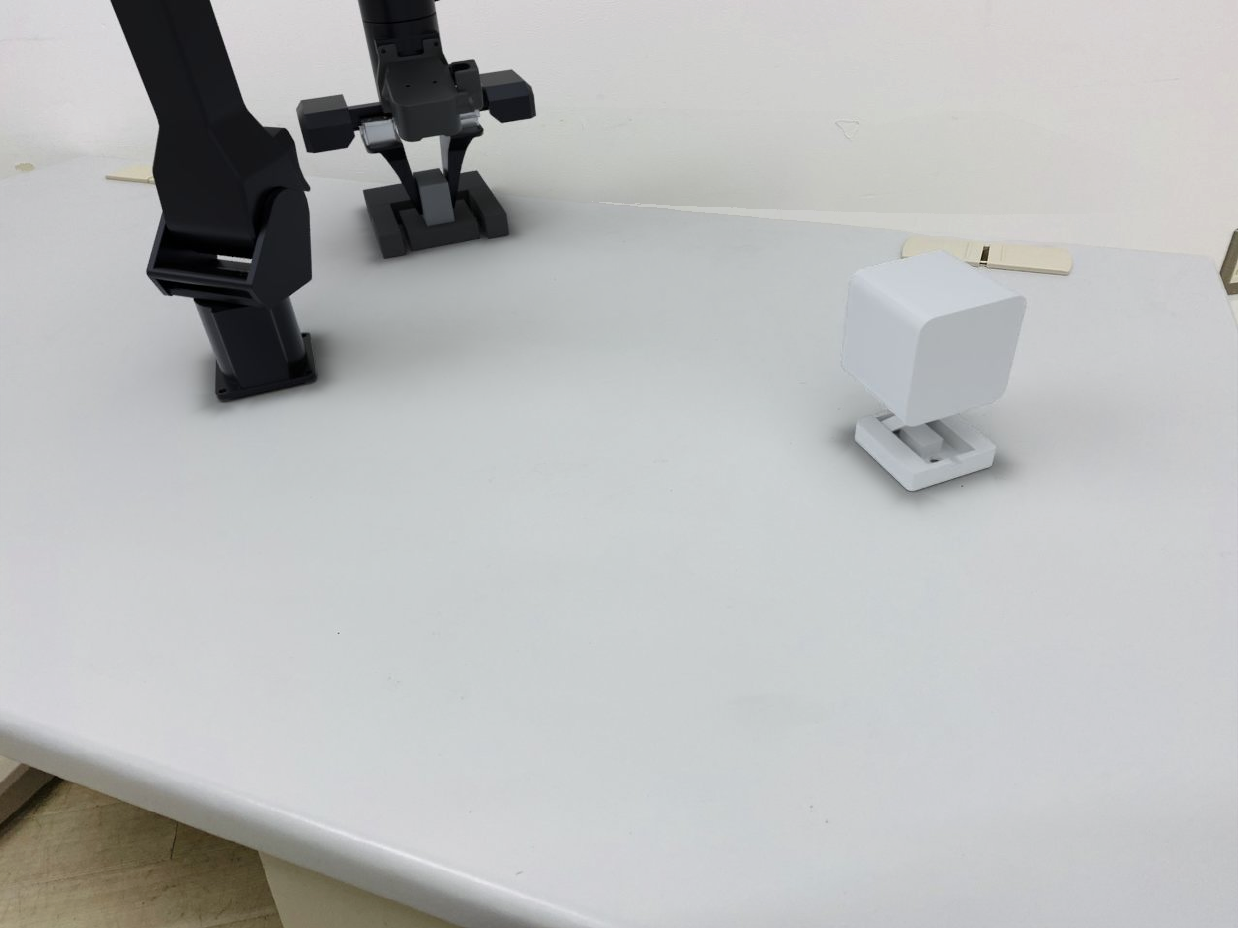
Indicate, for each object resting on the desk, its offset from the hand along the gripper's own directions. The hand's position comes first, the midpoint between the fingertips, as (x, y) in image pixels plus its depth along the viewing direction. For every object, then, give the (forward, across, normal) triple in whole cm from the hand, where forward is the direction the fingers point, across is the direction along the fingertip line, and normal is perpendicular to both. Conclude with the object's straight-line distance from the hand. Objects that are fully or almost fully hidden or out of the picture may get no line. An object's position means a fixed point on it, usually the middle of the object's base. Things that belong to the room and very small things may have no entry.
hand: (436, 210), depth 78 cm
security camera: (+2, +20, -44) cm, 48 cm away
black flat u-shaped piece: (+2, 0, +2) cm, 3 cm away
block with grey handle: (+2, 0, 0) cm, 2 cm away
